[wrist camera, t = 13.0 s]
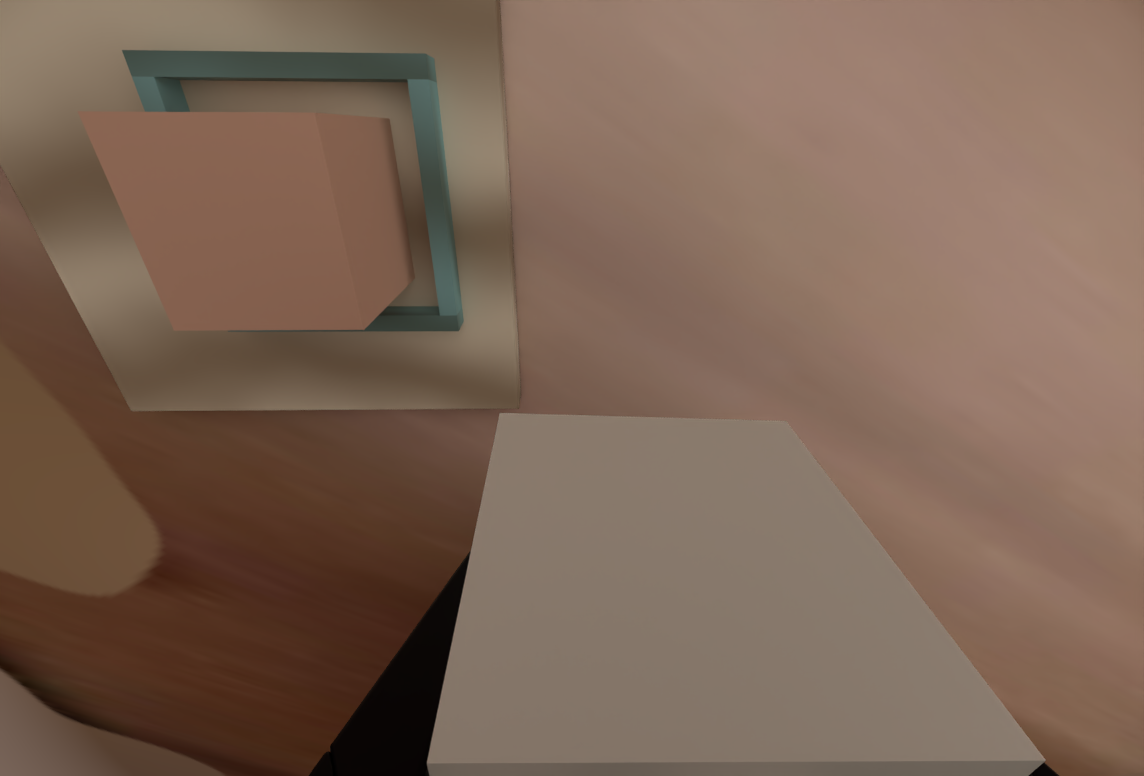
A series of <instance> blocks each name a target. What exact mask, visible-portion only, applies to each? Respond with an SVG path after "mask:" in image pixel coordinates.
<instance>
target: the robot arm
mask: <svg viewBox="0 0 1144 776" xmlns="http://www.w3.org/2000/svg"><path fill="white" fill-rule="evenodd" d="M470 553H471V551H470V552H469V554H468V555H467V556H466V558H465V559H464V560H463V562H462V563H461V565H460V566H459V567H458V569H457V570H456V572H455V573H454V574H453V576H452V577H451V578H450V580H449V581H448V583H447V584H446V585H445V587H444V588H443V590H442V591H441V592H440V594H439V595H438V597H437V598H436V599H435V601H434V602H433V604H432V605H431V606H430V608H429V609H428V611H427V612H426V613H425V615H424V616H423V617H422V619H421V620H420V622H419V623H418V624H417V626H416V627H415V629H414V630H413V631H412V633H411V634H410V636H409V637H408V638H407V640H406V641H405V643H404V644H403V645H402V647H401V648H400V650H399V651H398V652H397V654H396V655H395V656H394V658H393V659H392V661H391V662H390V663H389V665H388V666H387V668H386V669H385V670H384V672H383V673H382V675H381V676H380V677H379V679H378V680H377V682H376V683H375V684H374V686H373V687H372V689H371V690H370V691H369V693H368V694H367V695H366V697H365V698H364V700H363V701H362V702H361V704H360V705H359V707H358V708H357V709H356V711H355V712H354V714H353V715H352V716H351V718H350V719H349V721H348V722H347V723H346V725H345V726H344V727H343V729H342V730H341V732H340V733H339V734H338V736H337V737H336V739H335V740H334V741H333V743H332V744H331V746H330V752H331V753H330V752H326V753H325V754H324V755H323V756H322V758H321V759H320V760H319V762H318V763H317V765H316V766H315V767H314V769H313V770H312V772H311V773H310V774H309V776H429V772H428V767H427V759H428V755H429V750H430V745H431V740H432V735H433V731H434V726H435V721H436V716H437V711H438V707H439V702H440V697H441V692H442V687H443V683H444V678H445V673H446V668H447V664H448V659H449V654H450V649H451V644H452V640H453V635H454V630H455V625H456V620H457V616H458V611H459V606H460V601H461V596H462V592H463V587H464V582H465V577H466V572H467V568H468V563H469V558H470ZM1028 776H1059V775H1058V774H1057V773H1056V772H1055V771H1053V770H1052V769H1051V768H1050V767H1049V766H1048V765H1046V764H1045V763H1042V764H1041V765H1040V766H1039V767H1038V768H1037V769H1035V770H1034V771H1033V772H1032V773H1031V774H1030V775H1028Z"/></svg>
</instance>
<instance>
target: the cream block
mask: <svg viewBox="0 0 1144 776" xmlns="http://www.w3.org/2000/svg"><path fill="white" fill-rule="evenodd" d="M1045 761H1046V760H1045V759H1044V758H1043V756H1042V755H1041V754H1040V752H1039V751H1038V750H1037V748H1036V747H1035V746H1034V744H1033V743H1032V742H1031V741H1030V739H1029V738H1028V737H1027V735H1026V734H1025V733H1024V731H1023V730H1022V729H1021V727H1020V726H1019V725H1018V724H1017V722H1016V721H1015V720H1014V718H1013V717H1012V716H1011V714H1010V713H1009V712H1008V710H1007V709H1006V708H1005V707H1004V705H1003V704H1002V703H1001V701H1000V700H999V699H998V697H997V696H996V695H995V693H994V692H993V691H992V690H991V688H990V687H989V686H988V684H987V683H986V682H985V680H984V679H983V678H982V676H981V675H980V674H979V673H978V671H977V670H976V669H975V667H974V666H973V665H972V663H971V662H970V661H969V659H968V658H967V657H966V656H965V654H964V653H963V652H962V650H961V649H960V648H959V646H958V645H957V644H956V642H955V641H954V640H953V639H952V637H951V636H950V635H949V633H948V632H947V631H946V629H945V628H944V627H943V625H942V624H941V623H940V622H939V620H938V619H937V618H936V616H935V615H934V614H933V612H932V611H931V610H930V608H929V607H928V606H927V605H926V603H925V602H924V601H923V599H922V598H921V597H920V595H919V594H918V593H917V591H916V590H915V589H914V588H913V586H912V585H911V584H910V582H909V581H908V580H907V578H906V577H905V576H904V574H903V573H902V572H901V571H900V569H899V568H898V567H897V565H896V564H895V563H894V561H893V560H892V559H891V558H890V556H889V555H888V554H887V552H886V551H885V550H884V548H883V547H882V546H881V544H880V543H879V542H878V541H877V539H876V538H875V537H874V535H873V534H872V533H871V531H870V530H869V529H868V527H867V526H866V525H865V524H864V522H863V521H862V520H861V518H860V517H859V516H858V514H857V513H856V512H855V510H854V509H853V508H852V507H851V505H850V504H849V503H848V501H847V500H846V499H845V497H844V496H843V495H842V493H841V492H840V491H839V490H838V488H837V487H836V486H835V484H834V483H833V482H832V480H831V479H830V478H829V476H828V475H827V474H826V473H825V471H824V470H823V469H822V467H821V466H820V465H819V463H818V462H817V461H816V459H815V458H814V457H813V456H812V454H811V453H810V452H809V450H808V449H807V448H806V446H805V445H804V444H803V442H802V441H801V440H800V439H799V437H798V436H797V435H796V433H795V432H794V431H793V429H792V428H791V427H790V425H789V424H788V423H787V422H786V421H767V420H731V419H695V418H660V417H624V416H588V415H553V414H517V413H500V414H499V419H498V424H497V429H496V433H495V438H494V443H493V448H492V453H491V457H490V462H489V467H488V472H487V477H486V481H485V486H484V491H483V496H482V501H481V505H480V510H479V515H478V520H477V525H476V529H475V534H474V539H473V544H472V548H471V553H470V558H469V563H468V568H467V572H466V577H465V582H464V587H463V592H462V596H461V601H460V606H459V611H458V616H457V620H456V625H455V630H454V635H453V640H452V644H451V649H450V654H449V659H448V664H447V668H446V673H445V678H444V683H443V687H442V692H441V697H440V702H439V707H438V711H437V716H436V721H435V726H434V731H433V735H432V740H431V745H430V750H429V755H428V759H427V767H428V772H429V776H1028V775H1030V774H1031V773H1032V772H1033V771H1034V770H1035V769H1037V768H1038V767H1039V766H1040V765H1041V764H1042V763H1044V762H1045Z"/></svg>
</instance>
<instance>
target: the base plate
mask: <svg viewBox="0 0 1144 776" xmlns="http://www.w3.org/2000/svg"><path fill="white" fill-rule="evenodd" d="M78 111H102V112H290V113H326V114H339V115H352V116H365V117H378V118H389V119H390V125H391V131H392V138H393V144H394V150H395V156H396V162H397V169H398V175H399V181H400V187H401V193H402V200H403V206H404V212H405V218H406V224H407V231H408V237H409V243H410V249H411V255H412V262H413V268H414V274H415V279H414V280H413V281H412V282H411V283H410V284H409V285H408V286H407V287H406V288H405V289H404V290H403V291H402V292H401V293H400V294H399V295H398V296H397V297H396V298H395V299H394V300H393V301H392V302H391V303H390V304H389V305H388V306H387V307H386V308H385V309H384V310H383V311H382V312H381V313H380V314H379V315H378V316H377V317H376V318H375V319H374V320H373V321H372V322H371V323H370V324H369V325H368V326H367V327H366V328H365V329H364V330H204V331H174V330H173V327H172V325H171V323H170V320H169V318H168V316H167V314H166V311H165V309H164V307H163V305H162V302H161V300H160V298H159V295H158V293H157V291H156V289H155V286H154V284H153V282H152V280H151V277H150V275H149V273H148V270H147V268H146V266H145V264H144V261H143V259H142V257H141V255H140V252H139V250H138V248H137V245H136V243H135V241H134V239H133V236H132V234H131V232H130V230H129V227H128V225H127V223H126V220H125V218H124V216H123V214H122V211H121V209H120V207H119V205H118V202H117V200H116V198H115V195H114V193H113V191H112V189H111V186H110V184H109V182H108V180H107V177H106V175H105V173H104V170H103V168H102V166H101V164H100V161H99V159H98V157H97V155H96V152H95V150H94V148H93V145H92V143H91V141H90V139H89V136H88V134H87V132H86V130H85V127H84V125H83V123H82V120H81V118H80V116H79V114H78ZM0 165H1V167H2V169H3V171H4V173H5V175H6V177H7V178H8V180H9V182H10V184H11V186H12V188H13V190H14V192H15V193H16V195H17V197H18V199H19V201H20V203H21V205H22V207H23V208H24V210H25V212H26V214H27V216H28V218H29V220H30V222H31V224H32V225H33V227H34V229H35V231H36V233H37V235H38V237H39V239H40V240H41V242H42V244H43V246H44V248H45V250H46V252H47V254H48V255H49V257H50V259H51V261H52V263H53V265H54V267H55V269H56V270H57V272H58V274H59V276H60V278H61V280H62V282H63V284H64V286H65V287H66V289H67V291H68V293H69V295H70V297H71V299H72V301H73V302H74V304H75V306H76V308H77V310H78V312H79V314H80V316H81V317H82V319H83V321H84V323H85V325H86V327H87V329H88V331H89V332H90V334H91V336H92V338H93V340H94V342H95V344H96V346H97V347H98V349H99V351H100V353H101V355H102V357H103V359H104V361H105V363H106V364H107V366H108V368H109V370H110V372H111V374H112V376H113V378H114V379H115V381H116V383H117V385H118V387H119V389H120V391H121V393H122V394H123V396H124V398H125V400H126V402H127V404H128V406H129V408H130V409H131V411H220V410H378V409H519V404H520V398H521V386H520V367H519V348H518V330H517V311H516V292H515V274H514V255H513V237H512V218H511V199H510V181H509V162H508V143H507V125H506V106H505V87H504V69H503V50H502V32H501V13H500V0H0Z"/></svg>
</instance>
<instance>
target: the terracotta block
mask: <svg viewBox="0 0 1144 776" xmlns="http://www.w3.org/2000/svg"><path fill="white" fill-rule="evenodd" d="M78 114H79V116H80V118H81V120H82V123H83V125H84V127H85V130H86V132H87V134H88V136H89V139H90V141H91V143H92V145H93V148H94V150H95V152H96V155H97V157H98V159H99V161H100V164H101V166H102V168H103V170H104V173H105V175H106V177H107V180H108V182H109V184H110V186H111V189H112V191H113V193H114V195H115V198H116V200H117V202H118V205H119V207H120V209H121V211H122V214H123V216H124V218H125V220H126V223H127V225H128V227H129V230H130V232H131V234H132V236H133V239H134V241H135V243H136V245H137V248H138V250H139V252H140V255H141V257H142V259H143V261H144V264H145V266H146V268H147V270H148V273H149V275H150V277H151V280H152V282H153V284H154V286H155V289H156V291H157V293H158V295H159V298H160V300H161V302H162V305H163V307H164V309H165V311H166V314H167V316H168V318H169V320H170V323H171V325H172V327H173V330H174V331H204V330H364V329H365V328H366V327H367V326H368V325H369V324H370V323H371V322H372V321H373V320H374V319H375V318H376V317H377V316H378V315H379V314H380V313H381V312H382V311H383V310H384V309H385V308H386V307H387V306H388V305H389V304H390V303H391V302H392V301H393V300H394V299H395V298H396V297H397V296H398V295H399V294H400V293H401V292H402V291H403V290H404V289H405V288H406V287H407V286H408V285H409V284H410V283H411V282H412V281H413V280H414V279H415V274H414V268H413V262H412V255H411V249H410V243H409V237H408V231H407V224H406V218H405V212H404V206H403V200H402V193H401V187H400V181H399V175H398V169H397V162H396V156H395V150H394V144H393V138H392V131H391V125H390V119H389V118H378V117H365V116H352V115H339V114H326V113H290V112H102V111H78Z"/></svg>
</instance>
